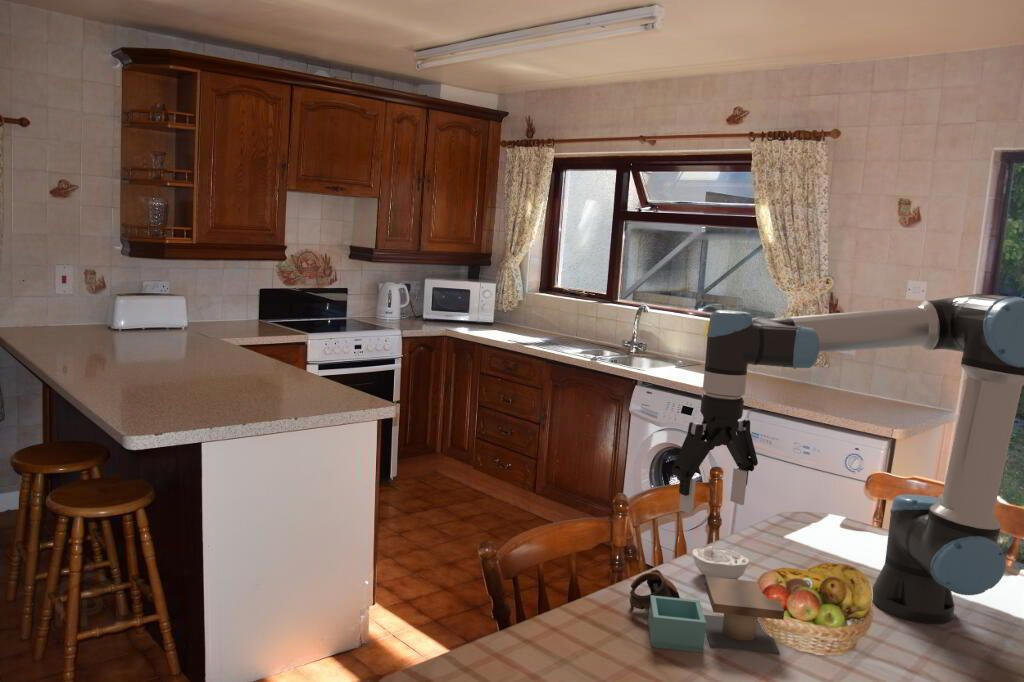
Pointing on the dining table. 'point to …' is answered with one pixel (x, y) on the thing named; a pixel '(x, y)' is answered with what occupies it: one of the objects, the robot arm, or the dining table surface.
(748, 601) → the lid
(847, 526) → the dining table surface
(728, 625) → the mat stand
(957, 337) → the robot arm
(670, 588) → the pottery mug
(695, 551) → the cell model
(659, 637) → the teal open box
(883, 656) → the dining table surface
